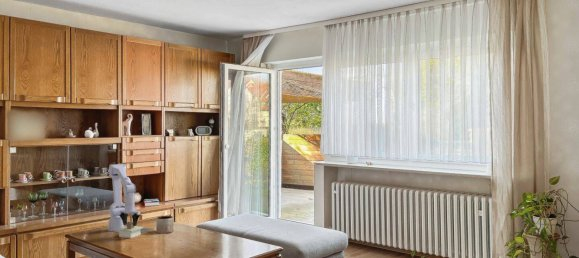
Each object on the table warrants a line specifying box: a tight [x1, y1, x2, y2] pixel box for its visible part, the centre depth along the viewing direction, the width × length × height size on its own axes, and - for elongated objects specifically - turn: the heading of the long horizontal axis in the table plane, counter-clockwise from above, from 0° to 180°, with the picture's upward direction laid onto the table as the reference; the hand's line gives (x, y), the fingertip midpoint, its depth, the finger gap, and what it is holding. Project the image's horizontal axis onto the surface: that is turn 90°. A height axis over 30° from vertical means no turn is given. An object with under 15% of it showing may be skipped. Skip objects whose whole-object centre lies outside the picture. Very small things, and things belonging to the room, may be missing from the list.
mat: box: [141, 227, 154, 234], centre depth 296 cm, size 12×12×1 cm
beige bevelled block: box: [118, 229, 142, 239], centre depth 280 cm, size 9×9×4 cm
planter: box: [155, 215, 175, 235], centre depth 292 cm, size 11×11×10 cm
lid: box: [117, 220, 145, 232], centre depth 281 cm, size 11×11×5 cm
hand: (129, 225), depth 280 cm, fingers open, 7 cm apart
